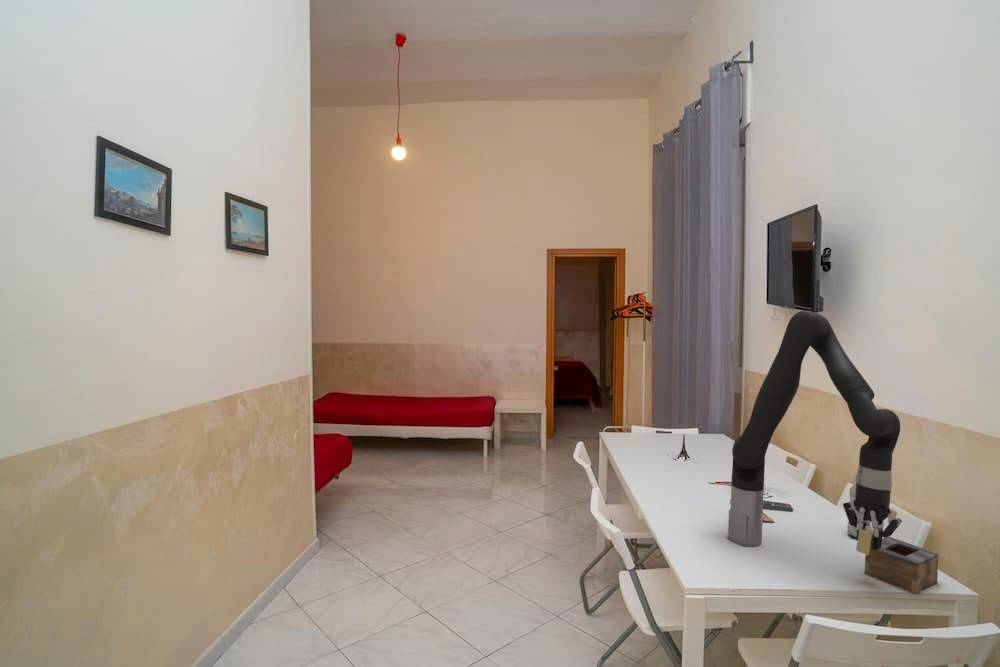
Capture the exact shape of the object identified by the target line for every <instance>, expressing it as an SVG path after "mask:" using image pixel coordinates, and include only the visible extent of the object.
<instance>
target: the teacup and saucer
mask: <svg viewBox="0 0 1000 667" xmlns="http://www.w3.org/2000/svg"><path fill="white" fill-rule="evenodd" d="M767 488H768V489H767ZM766 489H767V491H766ZM769 491H770V487H769V486H767V485H766V484H764V495H767V494H766V493H767V492H768V493H769ZM765 492H766V493H765Z"/></svg>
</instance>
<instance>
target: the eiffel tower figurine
mask: <svg viewBox="0 0 1000 667" xmlns="http://www.w3.org/2000/svg"><path fill="white" fill-rule="evenodd" d="M682 436H683V437H682V446H681V450H680V452H679V454H678V456H677V457H676V458H677V459H679V457H685V460H684V461H686V460H687V458H690V459H691V457H690V456H689V455H688V451H687V449H686V443H685V442H686V440H685V436H686V435H685V434H683V435H682ZM687 461H688V460H687Z"/></svg>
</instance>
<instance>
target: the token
mask: <svg viewBox="0 0 1000 667" xmlns="http://www.w3.org/2000/svg"><path fill="white" fill-rule="evenodd" d="M873 537H874V532H873V528H872V527H871V528H861V529H860V530H859V536H858V541H857V543H856V549H855V551H856V552H859V553H861V554H863V555H868V556H870V555H878V552H879V549H878V550H873V549H872V548H873Z"/></svg>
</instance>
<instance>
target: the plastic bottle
mask: <svg viewBox="0 0 1000 667" xmlns="http://www.w3.org/2000/svg"><path fill="white" fill-rule="evenodd" d="M856 481H857V474H855V475H854V482H855V483H853V485H852V486H851V487H850V488H849V502H854V500H855V499H856V496H855V493H856ZM855 513H856V515H857V518H858V516H859V513H858V512H857V510H856V508H855ZM866 528H871V529H872V522H870V521H868V523H867V526H866ZM847 532H848V534H849V535H850V536H851V537H853V538H855V539H856V538H857V529H856V527H854V526H852V525H850V523H849V521H848V523H847Z"/></svg>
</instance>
